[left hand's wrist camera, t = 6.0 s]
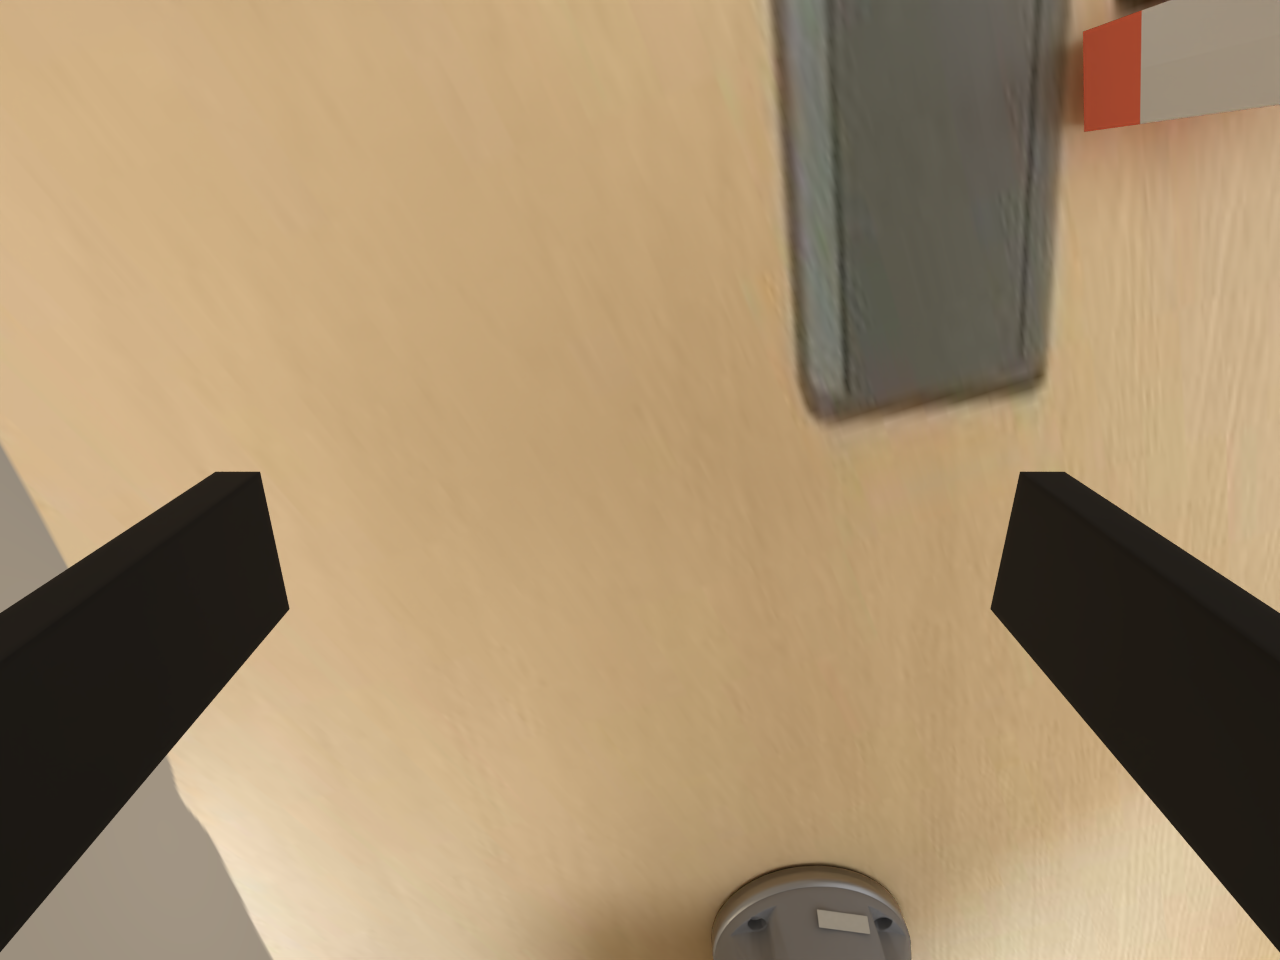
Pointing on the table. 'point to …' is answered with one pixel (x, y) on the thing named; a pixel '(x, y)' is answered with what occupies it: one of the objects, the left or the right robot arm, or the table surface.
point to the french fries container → (1182, 62)
